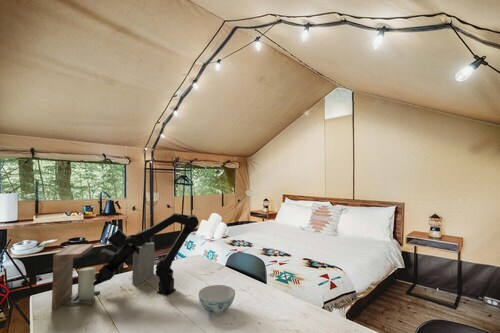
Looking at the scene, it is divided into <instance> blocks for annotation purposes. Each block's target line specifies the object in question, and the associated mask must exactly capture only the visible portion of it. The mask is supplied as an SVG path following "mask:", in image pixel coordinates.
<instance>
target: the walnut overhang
mask: <svg viewBox="0 0 500 333" xmlns="http://www.w3.org/2000/svg"><path fill="white" fill-rule="evenodd" d="M93 248H94V243H89V244H86V243H85V244H70V245H68V246H66V247H65V248H63V249H61V250H59V251H58V252H57V253H56V252H55V253H54V254H53V256H52V257H53V258H52V259H53V261H52V263H53V264H52V288H51V292H52V293H51V311H52V310H53V311H57V310H58V309H57V308H59V307H61V306H62V304H63V303H64V302H65V301H66V300H67V299H68V298H70V296H71V295H72V294H73V278H74V277H73V272H74V259H76V258H77V259H78V258H82V257H83V256H84V255H85V254H86V253H89V251H91V250H92V249H93ZM96 295H97V296H98V295H101V290H95V295H94V296H96ZM93 303H94V299H93V300H84V301H78V292H77V293H76V294H74V296H73V297H72V298H71V299H70V300H69V302H67V307H75V306H81V305H92V304H93ZM56 309H57V310H56Z"/></svg>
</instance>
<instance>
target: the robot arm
mask: <svg viewBox="0 0 500 333" xmlns="http://www.w3.org/2000/svg"><path fill="white" fill-rule="evenodd" d="M198 218H199V217H198V216H196V215H195V214H191V215H190V214H189V215H187V214H182V213H181V214H180V213H177V212H175V213H172V214H171V215H169V216H168V217H166V218H164V219H162V220H161V221H159V222H157V223H155V224H154V225H153V226H150V227H148V228H144V229H142V230H140V231H137V232H136V233H135V234H129V235H128V236H127V234H125V233H124V232H123V231H122V230H121V228H118V229H117V230H116V231H115V232H113V233H112V235H110V236H109V237H108V238H107V239H106V241H107V242H109V244H111V245H112V246H113V247H114V248H115V249H119V250H117V251H116V252H114V251H113V250H110V249H107V248H102V249H101V250H100V252H99V254H98V256H97V258H98V259H102V260H104V261H106V264H103V265H102V267H100V269H99V270H98V274H99V275H98V276H97V278H95V282H94V283H93V285H94V286H97V285H100V284H102V283H104V282H107V281H111V279H112V278H113V277H114V276H115V275H116V271H118V270H119V269H120V268H121V267H122V266H123V265H124V264H125V263H126V262H127V260H129V259H130V257H133V254H134V253H135V252H136V253H137V254H139V253H140V248H141V247H139V246H142V245H143V244H144V243H146V242H147V243H148V241H149V240H150V239H151V238H153V237H154V236H155V235H157V234H158V233H160V232H162V231H163V230H165V229H166V228H168V227H169V226H172V225H173V224H175V223H177V224H180V225H183V227H182V230H181V231H180V233H179V235H178V236H177V238H176V240H175V241H174V243H173V244H172V246H171V248H170V250H169V251H168V253H167V254H166V255H165V256H164V257H163V256H161V257H160V259H159V261H158V262H157V263H156V266H155V276H156V277H157V278H159V281H158V290H157V291H156V293H157V294H159V295H165V296H169V295H170V294H171V293H173V292H175V291H176V290H177V289H176V288H175V278H174V269H172V268H171V267H172V263H173V262H174V260H175V259H176V257H177V255H178V253H179V252H180V250H181V248H182V247H183V245H184V244H185V242H186V240H187V238H188V237H189V236H190V234H192V232H193V231H194V230H195V229H196V228H197V227H198V226H199V223H200V222H199V219H198Z"/></svg>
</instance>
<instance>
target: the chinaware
mask: <svg viewBox="0 0 500 333" xmlns="http://www.w3.org/2000/svg"><path fill="white" fill-rule="evenodd" d="M235 295H236V291H235V289H234V288H233V287H231V286H228V285H225V284H213V285H208V286H206V287H203V288H201V289H200V290H199V291H198V299H199V302H200V305H201V306H202V307H203V309H204V310H206V311H207V312H208V314H209V315H211V316H215V317H216V316H217V317H218V316H221V315H223V314H224V313H225V312H226V311H227V310H228V309H230V307H231V305H232V303H233V302H234V300H235Z"/></svg>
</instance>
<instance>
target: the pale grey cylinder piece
mask: <svg viewBox="0 0 500 333" xmlns="http://www.w3.org/2000/svg"><path fill="white" fill-rule="evenodd" d="M77 276H78V277H77V278H78V279H77V280H78V282H77V293H78V298H77V301H84V300H94V299H95V296H96V295H95V291H96V290H95V289H96V288H95V286H96V285H95V286H94V285H93V283H94V282H95V280H96V267H91V266H90V267H89V266H88V267H85V268H81V269H79V270H78V275H77Z"/></svg>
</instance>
